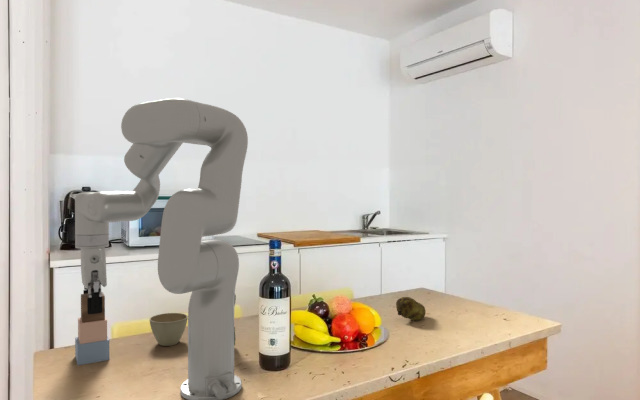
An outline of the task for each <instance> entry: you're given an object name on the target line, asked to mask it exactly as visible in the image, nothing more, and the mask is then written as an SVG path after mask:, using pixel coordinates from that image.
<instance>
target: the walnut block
mask: <svg viewBox="0 0 640 400" xmlns="http://www.w3.org/2000/svg"><path fill="white" fill-rule="evenodd" d="M101 292H102V313H97V314H88V312H87V298H89V294H83V293H80V318H81V320H82V323H84V322H91V321H99V320H105V317H106V310H105V309H106V301H105V300H106V295H105V294H104V292H103V291H101Z"/></svg>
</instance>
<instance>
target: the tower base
mask: <svg viewBox="0 0 640 400" xmlns="http://www.w3.org/2000/svg"><path fill="white" fill-rule="evenodd" d="M74 339H75V341H74V347H75V349H74V350H75V353H74V355H75V356H74V357H75V360H76V364H77V366H82V365H88V364H94V363H98V362H105V361H109V360H110V359H111V358H110V339H109V337H108V335H107V340H104V341H98V342H91V343H85V344H80V343H79V339H78V336H75V337H74Z"/></svg>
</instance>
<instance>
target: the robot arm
mask: <svg viewBox="0 0 640 400" xmlns="http://www.w3.org/2000/svg"><path fill="white" fill-rule="evenodd" d="M120 128H121V129H120V130H121V134H122V136H123V137H124V139H125V140H127V142H129V143H131V144H132V145H131V146H130V148H129V149H128V150H127V152H126V153H125V155H124V158H123V161H124V165H125V166H126V168H127V169H128V171H130V173H132V175H134V176H135V177H137V178H139V179H140V181H139V182H138V183H137V185H136V186H135V187H134V189H132V190H130V191H129V190H125V191H124V190H123V191H122V190H113V191H111V190H110V191H109V190H108V191H107V190H106V191H104V190H103V191H96V192H93V191H92V192H89V191H88V192H85V191H84V192H83V191H81V192H79V193H77V194H76V195H75V198H74V214H75V215H74V221H75V222H74V225H75V226H74V227H75V228H74V229H75V231H74V232H75V233H74V234H75V235H74V239H75V241H74V242H75V243H74V244H75V245H74V246H75V247H74V248H75V249H80V275H81V283H82V286H83V288H84V289H83V293H82V294H89V298H87V312H88V314H97V313H102V292H103V291H102V287H104V288H105V287H107V284H108V281H107V257H106V256H107V255H106V248H108V247H109V246H110V243H109V242H110V241H109V238H110V237H109V235H110V234H109V233H110V231H109V230H110V229H109V227H110V226H109V225H110V223H118V222H119V223H120V222H133V221H138V220H140V219H141V218H143V217H144V216H145V215H147V213H149V211H150V210H151V209H152V208H153V206H154V204H155V203H156V202H157V200H158V198H159V197H160V190H161V181H160V180H161V179H160V174H161V173H162V172H163V170H164V168H166V166H167V165H168V163H169V162H170V161H171V160H172V158H173V157H174V156H175V154H176V153H177V151H178V150H179V149H180V148H181V146H182V145H183V143H185V144H192V145H199V146H200V145H201V146H206V147H210V150H209V152H208V153H207V154H206V155H205V158H204V159H203V161H202V164H201V166H200V172H199V173H200V174H199V180H198V181H199V182H198V186H197V188H185V189H181V190H178V191H176V192H174V193H173V194H172V195H171V196H170V197H169V198H168V200H167V201H166V204H165V206H164V209H163V211H162V217H161V225H160V227H161V228H160V234H159V235H160V237H159V245H158V257H157V273H158V274H157V276H158V278H159V282H160V284H161V285H162V287H163V289H165V290H166V291H167V292H169V293H171V294H174V295H177V294H178V295H181V294H186V293H187V294H188V293H191V294H190V298H189V301H188V308H187V316H188V318H187V379H186V380H185V381H183V383H182V384H181V385H180V387H179V388H180V393H179V394H180V395H181V396H182V397H183V398H184V399H185V400H227V399H229V398H231V397H234V396H235V395H237V394H238V393H239V392H240V391H241V389H242V386H243V385H242V379H241V378H240V377H239V376H238V375H236V374H235V346H234V327H235V307H234V301H235V302H236V300H235V295H236V285H237V280H238V275H239V268H240V261H239V254H238V252H237V250H236V248H235V247H234V246H233V245H232V244H230V243H229V242H227V241H225V240H220V239H208V240H202V239H203V237H209V236H210V237H211V236H218V235H223V234H227V233H230V232H231V231H232V230H233V229H234V227H235V226H236V224H237V221H238V214H239V207H240V205H239V204H240V197H241V189H242V182H243V181H242V180H243V179H242V178H243V171H244V165H245V160H246V157H247V152H248V151H247V150H248V146H249V145H248V144H249V141H248V140H249V139H248V138H249V137H248V131H247V129H246V126H245V124H244V123H243V120H241V119H240V118H239V116H237V115H236V114H235V113H233V112H231V111H229V110H228V109H225V108H222V107H218V106H215V105H211V104H207V103H202V102H198V101H195V100H189V99H186V98H181V97H174V98H173V97H172V98H164V99H159V100H151V101H146V102H140V103H136V104H134V105H133V106H131V107H130V108H128V109H127V110H126V112H125V113H124V115H123V117H122V119H121V125H120Z"/></svg>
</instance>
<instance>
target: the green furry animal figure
mask: <svg viewBox="0 0 640 400" xmlns="http://www.w3.org/2000/svg"><path fill="white" fill-rule="evenodd" d="M395 307H396V312H397V315H398V316H401V317H402V318H404V319H408V320H411V321H415V322H416V321H417V320H418V321H420V320H421V321H422V320H423V319H424V318H425V316H426V307H425V306H424V305H423V304H422V303H420V302H417V301H416V300H415V298H412V297H410V296H402V297H400V298H398V299H397V300H396V302H395Z"/></svg>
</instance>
